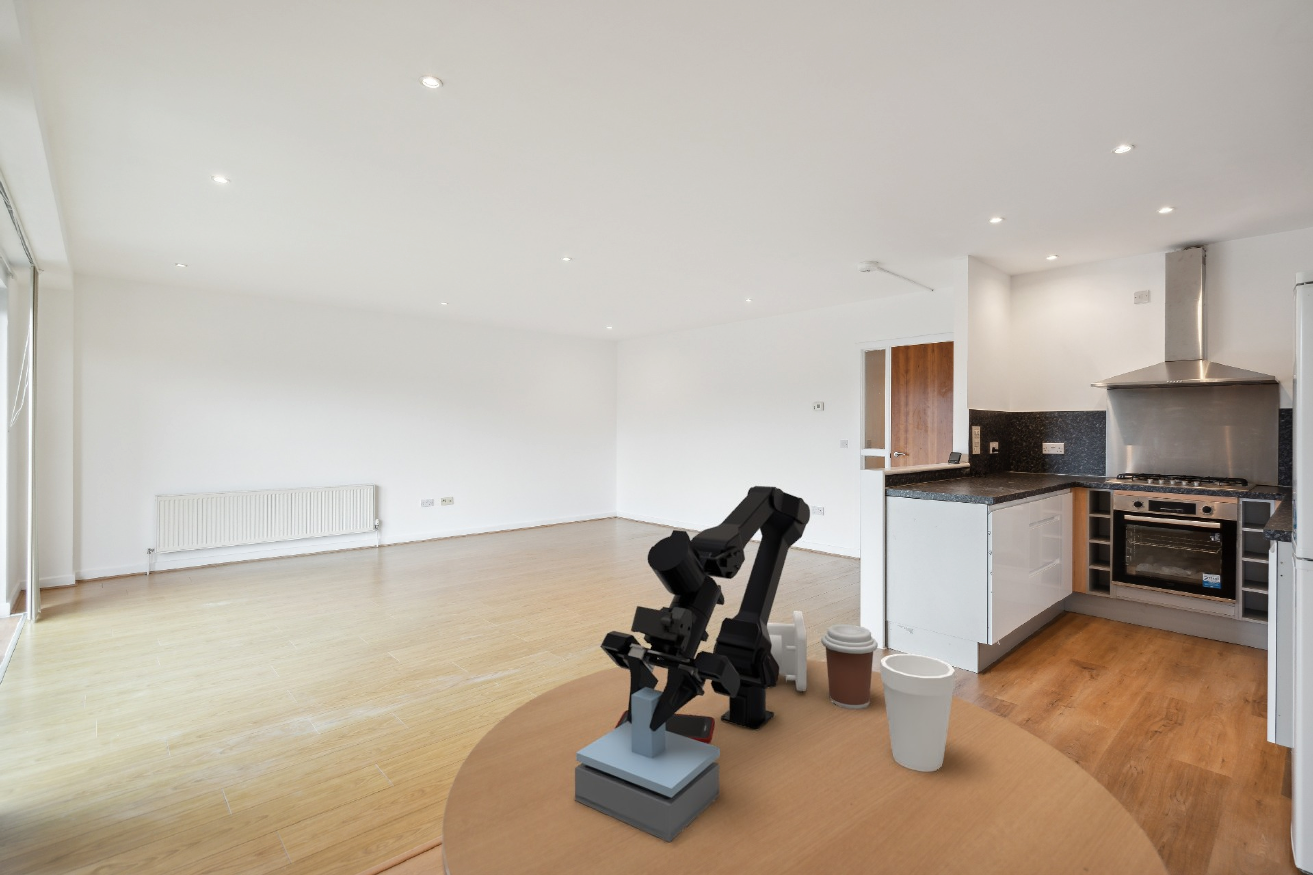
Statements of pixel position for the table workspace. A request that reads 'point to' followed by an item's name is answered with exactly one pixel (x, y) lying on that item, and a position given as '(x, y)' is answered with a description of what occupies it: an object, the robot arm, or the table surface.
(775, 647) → the cable organizer
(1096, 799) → the table surface
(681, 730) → the cell phone
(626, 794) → the parts tub
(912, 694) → the foam cup
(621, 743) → the tub lid
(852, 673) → the coffee cup
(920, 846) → the table surface
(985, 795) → the table surface
